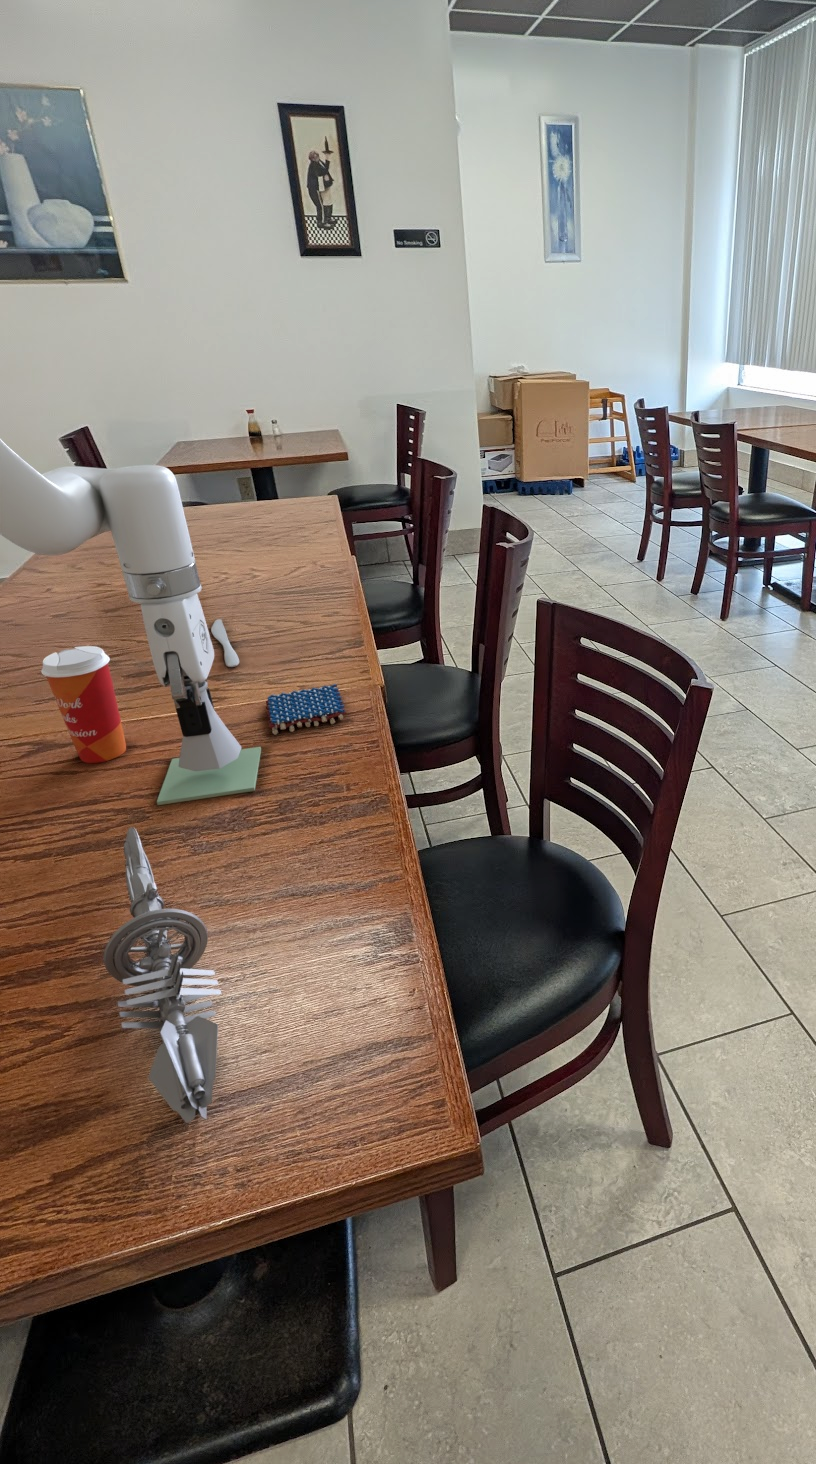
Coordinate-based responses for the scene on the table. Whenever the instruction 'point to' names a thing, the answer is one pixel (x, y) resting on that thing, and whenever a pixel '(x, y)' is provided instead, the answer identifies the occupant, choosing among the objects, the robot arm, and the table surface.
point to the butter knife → (225, 643)
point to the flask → (209, 742)
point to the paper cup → (87, 701)
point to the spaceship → (166, 987)
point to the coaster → (211, 779)
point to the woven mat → (304, 708)
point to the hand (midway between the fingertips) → (199, 725)
